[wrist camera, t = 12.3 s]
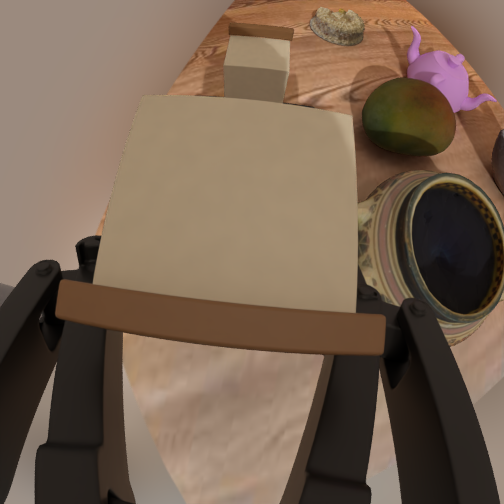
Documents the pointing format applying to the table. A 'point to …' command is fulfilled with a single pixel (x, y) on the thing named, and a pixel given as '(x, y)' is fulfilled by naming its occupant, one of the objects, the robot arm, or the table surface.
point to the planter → (499, 161)
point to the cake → (338, 26)
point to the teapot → (443, 75)
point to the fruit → (409, 118)
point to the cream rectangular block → (232, 231)
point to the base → (257, 62)
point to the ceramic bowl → (434, 247)
